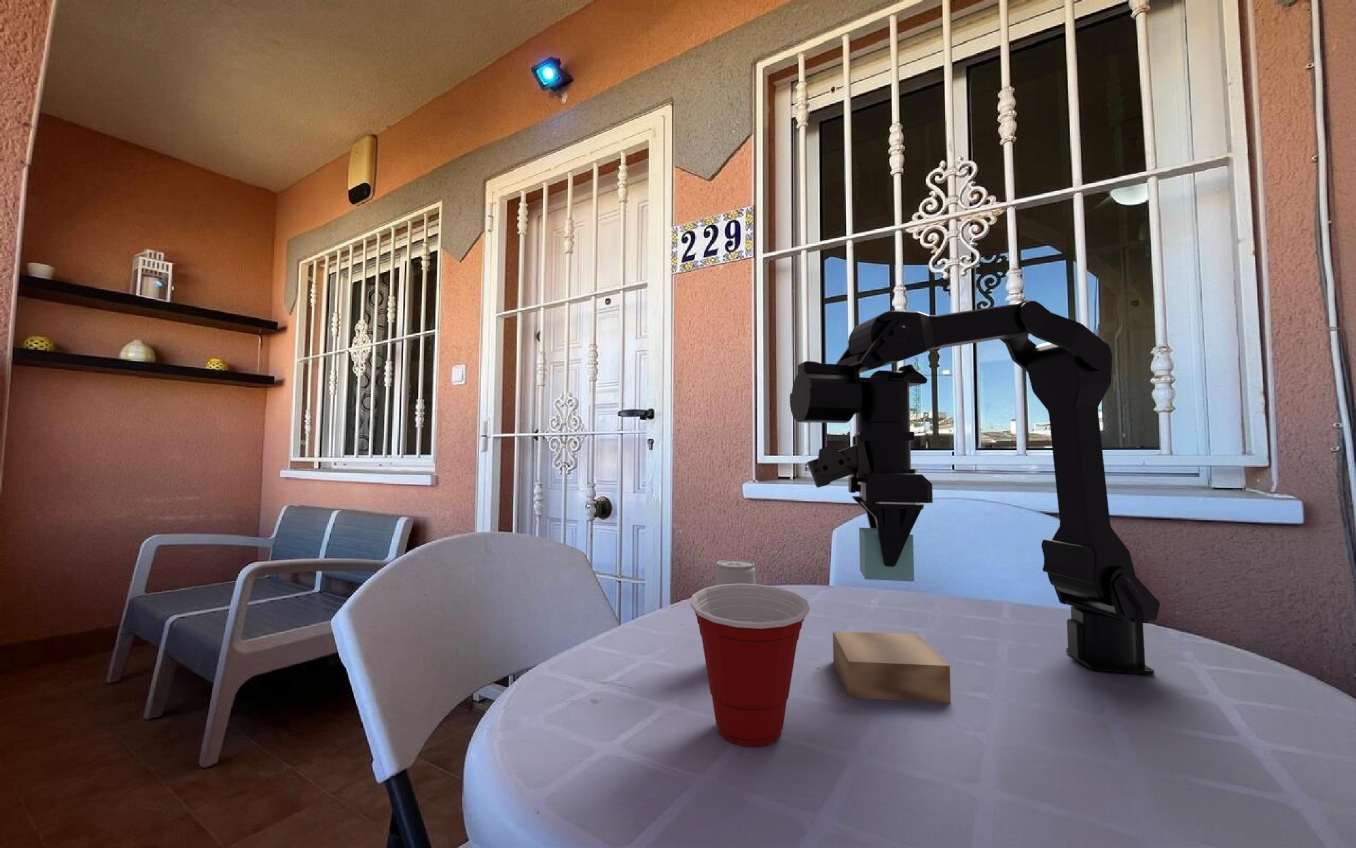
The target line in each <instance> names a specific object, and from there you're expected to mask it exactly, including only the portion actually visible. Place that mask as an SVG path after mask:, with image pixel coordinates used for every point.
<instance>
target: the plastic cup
mask: <svg viewBox="0 0 1356 848" xmlns="http://www.w3.org/2000/svg"><path fill="white" fill-rule="evenodd" d="M689 604H690V606H691V609H692V610H693V611H694V613H695V616H696V620H697V621H696V622H697V624H698V628H699V634H700V636H701V641H702V649H703V654H704V660H705V662H704V663H705V666H706V667H705V669H706V673H707V674H706V675H707V680H708V685H709V686H708V687H709V693H710V695H711V699H712V706H713V712H714V718H715V719H714V720H715V725H716V726H717V732H719V735H721V737H722V738H724V740H727V741H728V742H730V743H732V744H735V745H739V746H744V747H753V748H755V747H757V748H758V747H763V746H764V747H765V746H768V745H771V744H773V743H775V742H777V741H778V740H779V739H780V737H781V735H782V734H781V733H782V730H783V729H784V723H785V717H786V711H787V710H786V709H787V704H788V703H787V701H788V699H789V694H790V690H791V683H792V676H793V670H794V664H795V657H796V651H797V644H798V641H799V639H800V633H801V629H802V627H803V622H804V621H805V618H806V617H807V615H808V614H809V612H810V608H811V607H810V605H809V603H808V600H807V599H805V598H804V597H802V596H801V595H800V594H798V593H796V592H793V591H790V590H787V589H785V588H781V587H776V586H771V585H765V584H758V583H755V584H739V583H738V584H725V585H717V586H716V585H713V586H709V587H705V588H702V589H700V590H698V591H697V592H695V593H694V594H693V593H692V595H691V598H690V601H689Z"/></svg>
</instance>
